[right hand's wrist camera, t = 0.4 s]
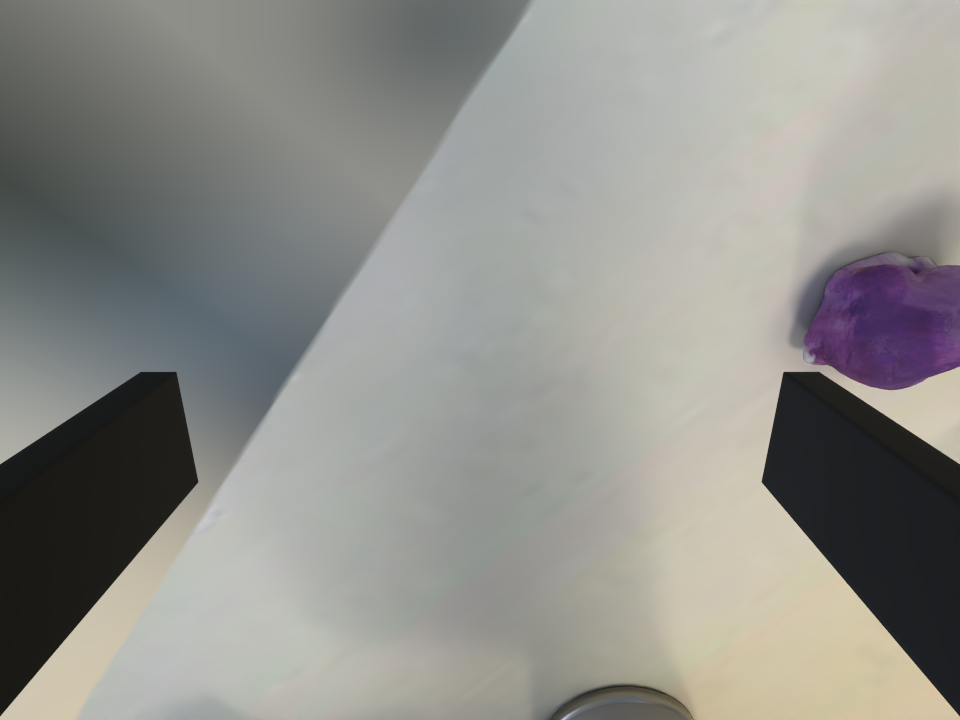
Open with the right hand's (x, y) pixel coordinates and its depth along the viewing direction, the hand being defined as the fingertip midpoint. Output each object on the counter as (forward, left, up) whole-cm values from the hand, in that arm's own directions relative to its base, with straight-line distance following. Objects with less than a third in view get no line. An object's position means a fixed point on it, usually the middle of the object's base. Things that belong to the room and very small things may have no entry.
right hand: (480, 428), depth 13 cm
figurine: (-5, -28, -28) cm, 39 cm away
